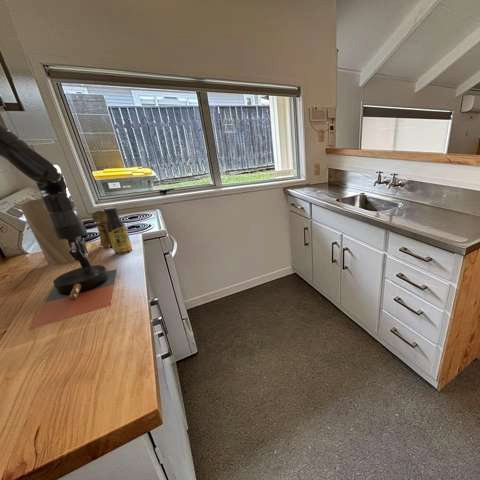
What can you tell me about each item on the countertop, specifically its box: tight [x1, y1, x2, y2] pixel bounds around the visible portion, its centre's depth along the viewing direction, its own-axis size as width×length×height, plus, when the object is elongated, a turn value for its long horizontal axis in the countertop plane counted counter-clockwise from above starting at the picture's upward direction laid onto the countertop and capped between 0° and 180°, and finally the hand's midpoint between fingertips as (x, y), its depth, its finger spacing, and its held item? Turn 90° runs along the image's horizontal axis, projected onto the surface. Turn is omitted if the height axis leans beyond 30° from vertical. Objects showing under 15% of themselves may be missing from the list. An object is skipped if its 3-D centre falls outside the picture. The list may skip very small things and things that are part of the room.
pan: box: [52, 264, 109, 301], centre depth 81 cm, size 13×21×4 cm, turn 33°
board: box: [28, 268, 118, 330], centre depth 80 cm, size 17×27×1 cm, turn 33°
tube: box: [18, 198, 77, 267], centre depth 100 cm, size 10×10×25 cm
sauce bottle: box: [103, 206, 133, 256], centre depth 106 cm, size 7×6×20 cm
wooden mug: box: [91, 210, 112, 248], centre depth 115 cm, size 9×14×18 cm, turn 35°
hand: (87, 268), depth 92 cm, fingers closed
